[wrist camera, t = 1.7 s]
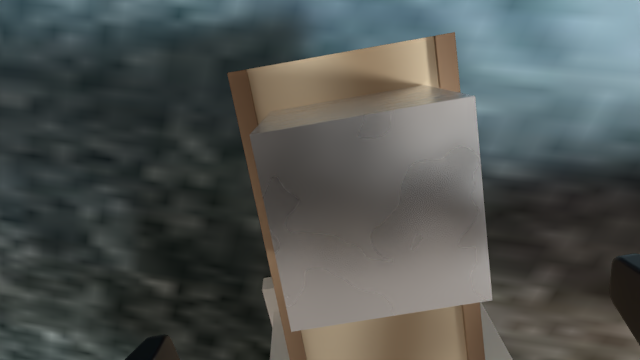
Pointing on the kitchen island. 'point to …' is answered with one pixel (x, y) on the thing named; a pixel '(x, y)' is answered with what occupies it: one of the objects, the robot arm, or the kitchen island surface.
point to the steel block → (375, 205)
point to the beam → (251, 109)
